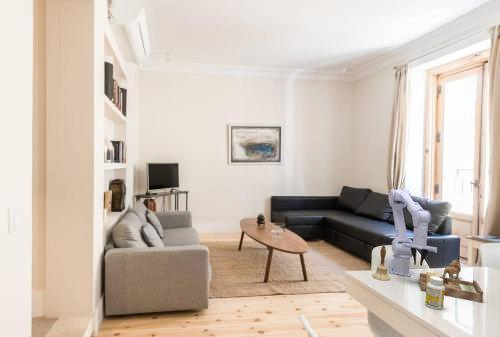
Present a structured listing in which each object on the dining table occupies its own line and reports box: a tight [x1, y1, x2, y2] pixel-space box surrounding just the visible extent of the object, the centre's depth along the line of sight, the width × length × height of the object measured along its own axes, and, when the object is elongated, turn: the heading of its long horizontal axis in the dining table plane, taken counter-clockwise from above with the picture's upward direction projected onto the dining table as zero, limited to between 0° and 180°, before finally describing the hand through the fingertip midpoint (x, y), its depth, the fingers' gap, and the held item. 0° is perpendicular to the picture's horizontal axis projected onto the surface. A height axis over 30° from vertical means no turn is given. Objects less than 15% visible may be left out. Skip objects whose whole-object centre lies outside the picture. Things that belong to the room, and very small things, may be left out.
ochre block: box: [425, 271, 441, 283], centre depth 153 cm, size 5×5×4 cm
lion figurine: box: [441, 259, 462, 280], centre depth 166 cm, size 15×5×9 cm, turn 130°
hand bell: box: [371, 245, 391, 282], centre depth 162 cm, size 8×8×16 cm
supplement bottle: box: [425, 276, 445, 310], centre depth 132 cm, size 6×6×11 cm
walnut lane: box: [418, 272, 484, 304], centre depth 150 cm, size 23×16×4 cm
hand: (417, 264), depth 156 cm, fingers closed
